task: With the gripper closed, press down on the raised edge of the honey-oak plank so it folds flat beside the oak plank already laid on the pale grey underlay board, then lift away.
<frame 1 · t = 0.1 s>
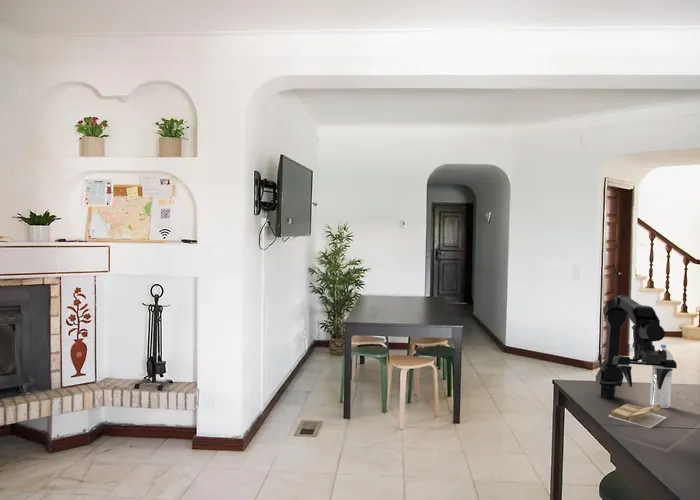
hand: (645, 388, 173), 15 cm above the table, tool pointing down, fingers open, 9 cm apart
water bottle: (659, 407, 199), on the table
raised plank: (644, 412, 184), point 3 cm above the table, hinge at 30.0°
underlay board: (637, 419, 185), on the table
laid plank: (626, 413, 188), resting on underlay board
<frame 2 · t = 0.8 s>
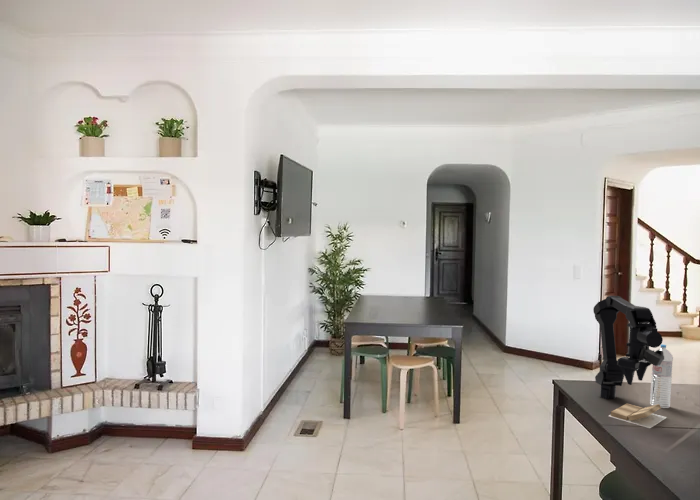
hand: (635, 382, 188), 13 cm above the table, tool pointing down, fingers open, 9 cm apart
nothing on the table moved.
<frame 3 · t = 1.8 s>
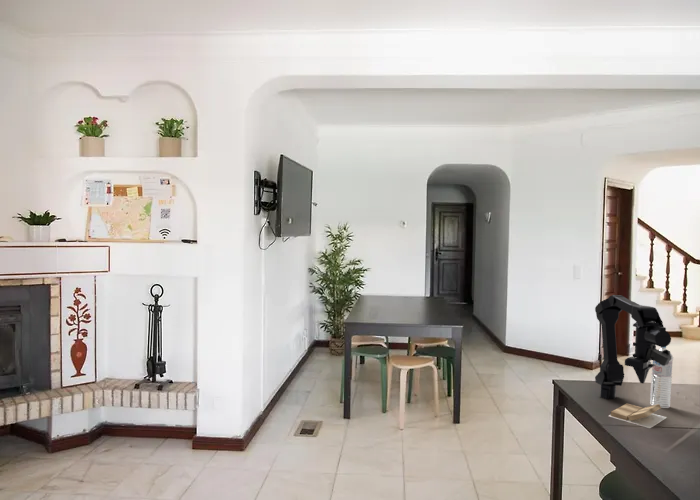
hand: (642, 383, 185), 13 cm above the table, tool pointing down, fingers closed
nothing on the table moved.
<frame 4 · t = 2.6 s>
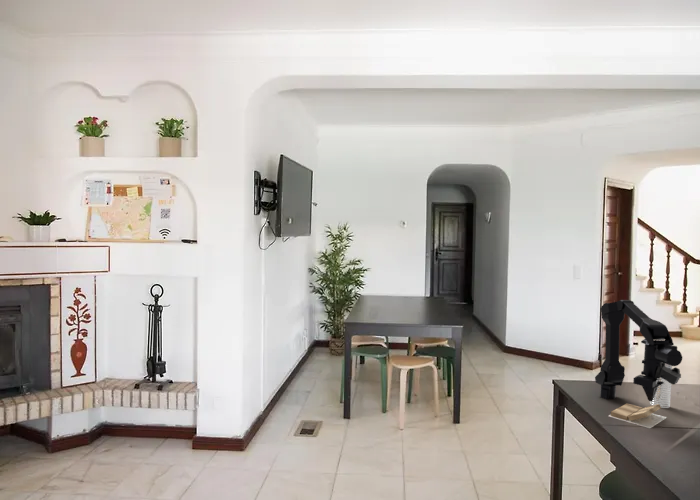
hand: (650, 401, 182), 8 cm above the table, tool pointing down, fingers closed
nothing on the table moved.
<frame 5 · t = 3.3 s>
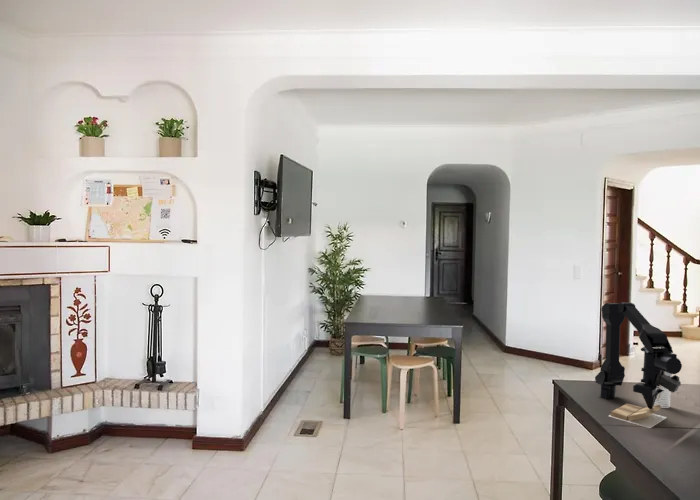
hand: (650, 408, 182), 5 cm above the table, tool pointing down, fingers closed, pressing on raised plank
raised plank: (644, 412, 184), point 3 cm above the table, hinge at 28.9°, touching gripper
everything else where it was.
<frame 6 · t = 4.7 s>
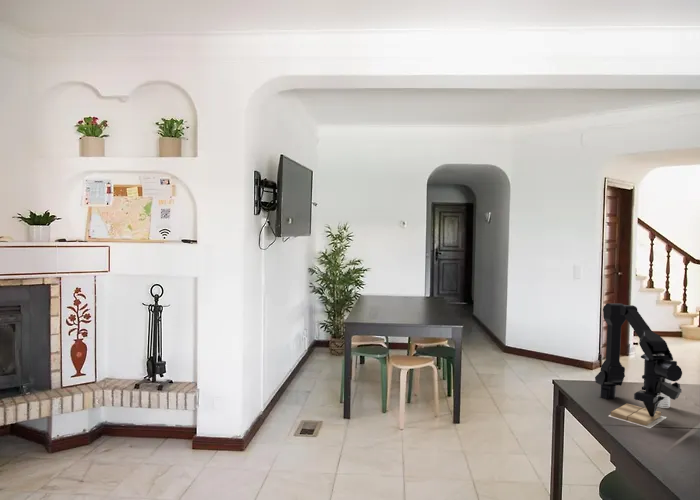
hand: (651, 416, 182), 3 cm above the table, tool pointing down, fingers closed, pressing on raised plank
raised plank: (644, 416, 184), point 2 cm above the table, hinge at 2.2°, touching gripper
everything else where it was.
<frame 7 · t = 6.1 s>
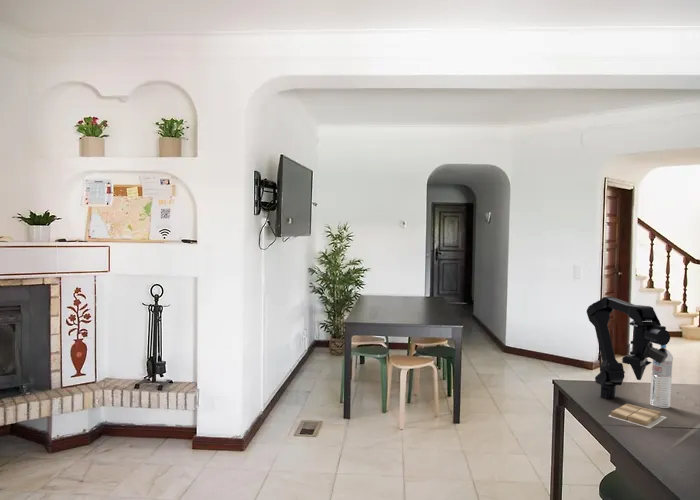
hand: (638, 379, 191), 13 cm above the table, tool pointing down, fingers closed
raised plank: (644, 416, 184), point 2 cm above the table, hinge at 2.0°
everything else where it was.
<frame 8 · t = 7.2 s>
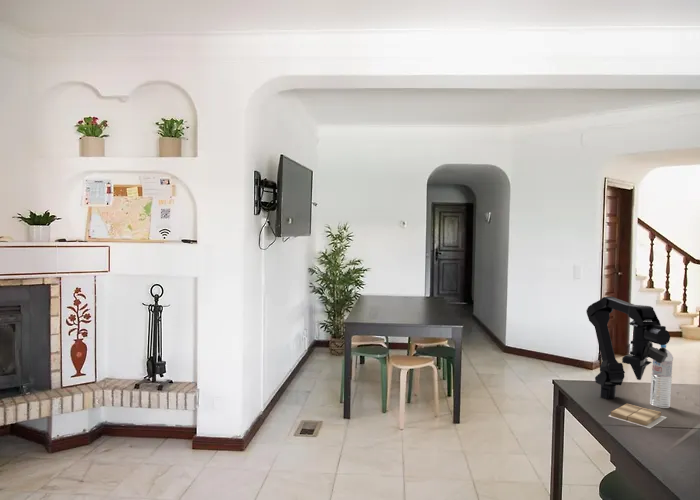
hand: (638, 379, 191), 13 cm above the table, tool pointing down, fingers closed
nothing on the table moved.
at the end: raised plank at +2° (first picture: +30°); water bottle moved 0.2 cm from its start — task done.
